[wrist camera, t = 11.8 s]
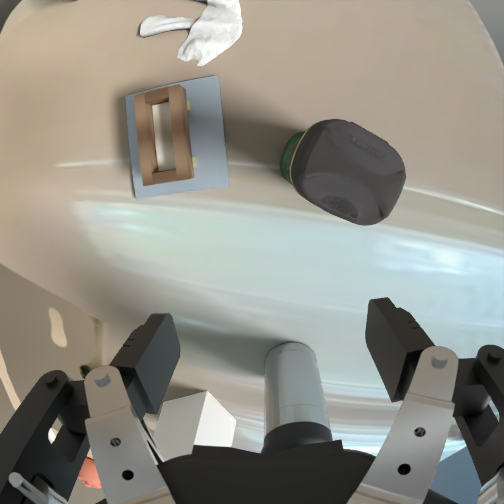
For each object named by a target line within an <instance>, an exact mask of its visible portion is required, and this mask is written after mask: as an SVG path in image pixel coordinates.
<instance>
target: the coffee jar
mask: <svg viewBox="0 0 504 504" xmlns="http://www.w3.org/2000/svg"><path fill="white" fill-rule="evenodd" d="M280 169H281V173H282V175H283V176H284V178H285V179H286V180H287V181H288V182H289V183H291V184H292V185H293V187H294V188H295V190H296V191H297V192H298V193H299V194H300V195H301V196H302V197H304V198H305V199H307V200H308V201H310V202H311V203H313V204H314V205H316V206H318V207H320V208H321V209H323V210H325V211H327V212H329V213H331V214H333V215H335V216H337V217H340V218H342V219H345V220H347V221H350V222H352V223H355V224H358V225H373V224H376V223H379V222H381V221H382V220H384V219H385V218H387V217H388V216H389V214H390V213H391V211H392V209H393V208H394V206H395V204H396V202H397V200H398V198H399V196H400V194H401V191H402V189H403V186H404V182H405V179H406V174H405V166H404V163H403V161H402V159H401V157H400V155H399V154H398V152H397V151H396V150H395V149H394V148H393V147H391V146H390V145H389V144H388V142H386V141H385V140H383V139H381V138H380V137H378V136H376V135H374V134H373V133H371V132H369V131H367V130H366V129H364V128H362V127H361V126H359V125H357V124H355V123H353V122H348V121H345V120H340V119H331V120H324V121H320V122H317V123H315V124H313V125H312V126H311V127H309V128H308V129H307V131H304V132H300V133H297V134H296V135H294V136H293V137H292V138H291V139H290V140H289V142H288V144H287V146H286V148H285V150H284V152H283V154H282V157H281V162H280Z"/></svg>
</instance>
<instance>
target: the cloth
mask: <svg viewBox="0 0 504 504" xmlns="http://www.w3.org/2000/svg"><path fill="white" fill-rule="evenodd" d="M195 1H199V2H207V3H208V6H207V7H206V9H205V10H204V11H203V14H202V16H201V17H200V18H199V19H198V20H194V19H191V18H187V17H168V16H164V15H161V16H154V17H147V18H146V19H144V20H143V21H142V24H141V29H140V35H141V36H142V37H143V38H145V37H148V36H152V35H155V34H158V33H161V32H165V31H174V30H190V33H189V36H188V37H187V39H186V41H185V42H184V43H183V44H182V46H181V47H180V49H179V50H178V52H179V54H178V58H179V59H181V60H183V61H188V60H190V59H192V58H193V59H195V60H197V66H204V64H206V63H208V62H209V61H210V60H212V59H214V58H215V57H216V56H217V55H219V54H220V53H222V52H223V51H224V50H225V49H227V48H229V47H230V46H231V45H232V44H233V43H234V42H235V41H236V40H237V39H238V38H239V36H240V35H241V32H242V25H241V24H242V19H243V18H241V17H242V16H241V15H240V14H241V9H240V4H239V1H238V0H195Z"/></svg>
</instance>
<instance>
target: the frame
mask: <svg viewBox="0 0 504 504" xmlns="http://www.w3.org/2000/svg"><path fill="white" fill-rule="evenodd" d="M134 99H135V115H136V128H137V139H138V149H139V158H140V166H141V174H142V181H143V186H149V185H155V184H161V183H167V182H174V181H180V180H187V179H191V178H194V169H193V160H192V151H191V141H190V131H189V121H188V110H187V98H186V89H185V88H184V87H182V86H181V85H180V84H177V85H173V86H168V87H164V88H160V89H156V90H152V91H148V92H144V93H141V94H137V95H134Z"/></svg>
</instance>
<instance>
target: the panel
mask: <svg viewBox="0 0 504 504" xmlns="http://www.w3.org/2000/svg"><path fill="white" fill-rule="evenodd" d="M177 84H180V85H181V86H182V87H184V88H185V89H186V98H187V110H188V121H189V131H190V141H191V151H192V160H193V169H194V178H191V179H187V180H180V181H174V182H167V183H161V184H155V185H149V186H143V181H142V174H141V166H140V158H139V149H138V139H137V128H136V115H135V99H134V95H137V94H141V93H144V92H148V91H152V90H156V89H160V88H164V87H168V86H173V85H177ZM125 101H126V117H127V129H128V140H129V150H130V159H131V167H132V175H133V182H134V189H135V195H136V200H137V199H143V198H150V197H156V196H163V195H170V194H177V193H184V192H191V191H199V190H208V189H216V188H225V187H230V182H229V173H228V163H227V154H226V145H225V135H224V125H223V115H222V105H221V95H220V85H219V76H218V75H217V76H211V77H205V78H199V79H194V80H188V81H183V82H179V83H174V84H170V85H165V86H161V87H157V88H153V89H149V90H146V91H142V92H138V93H135V94H132V95H128V96H125Z"/></svg>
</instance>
